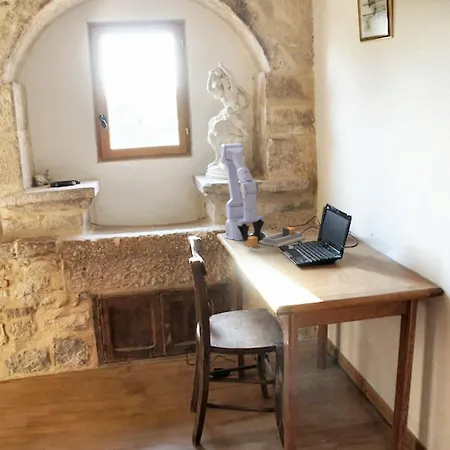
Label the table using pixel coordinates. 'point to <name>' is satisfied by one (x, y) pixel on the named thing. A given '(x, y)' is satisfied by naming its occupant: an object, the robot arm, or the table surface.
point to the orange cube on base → (251, 241)
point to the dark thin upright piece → (320, 225)
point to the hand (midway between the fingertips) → (251, 238)
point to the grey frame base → (283, 237)
